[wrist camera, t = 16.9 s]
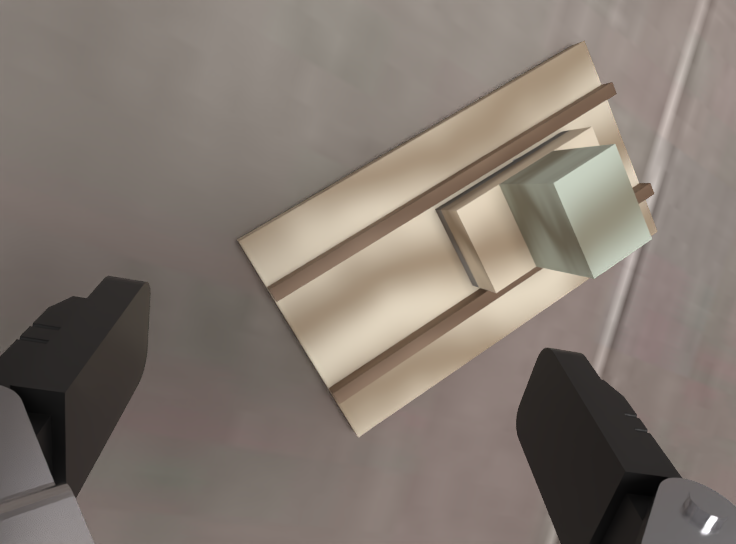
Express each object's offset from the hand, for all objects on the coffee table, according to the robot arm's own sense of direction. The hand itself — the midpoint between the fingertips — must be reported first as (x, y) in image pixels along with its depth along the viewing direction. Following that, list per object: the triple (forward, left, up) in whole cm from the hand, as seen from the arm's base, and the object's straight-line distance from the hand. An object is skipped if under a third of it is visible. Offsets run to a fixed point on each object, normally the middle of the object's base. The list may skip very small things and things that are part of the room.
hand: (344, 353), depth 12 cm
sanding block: (+6, +16, -21) cm, 27 cm away
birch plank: (+6, +13, -22) cm, 26 cm away
